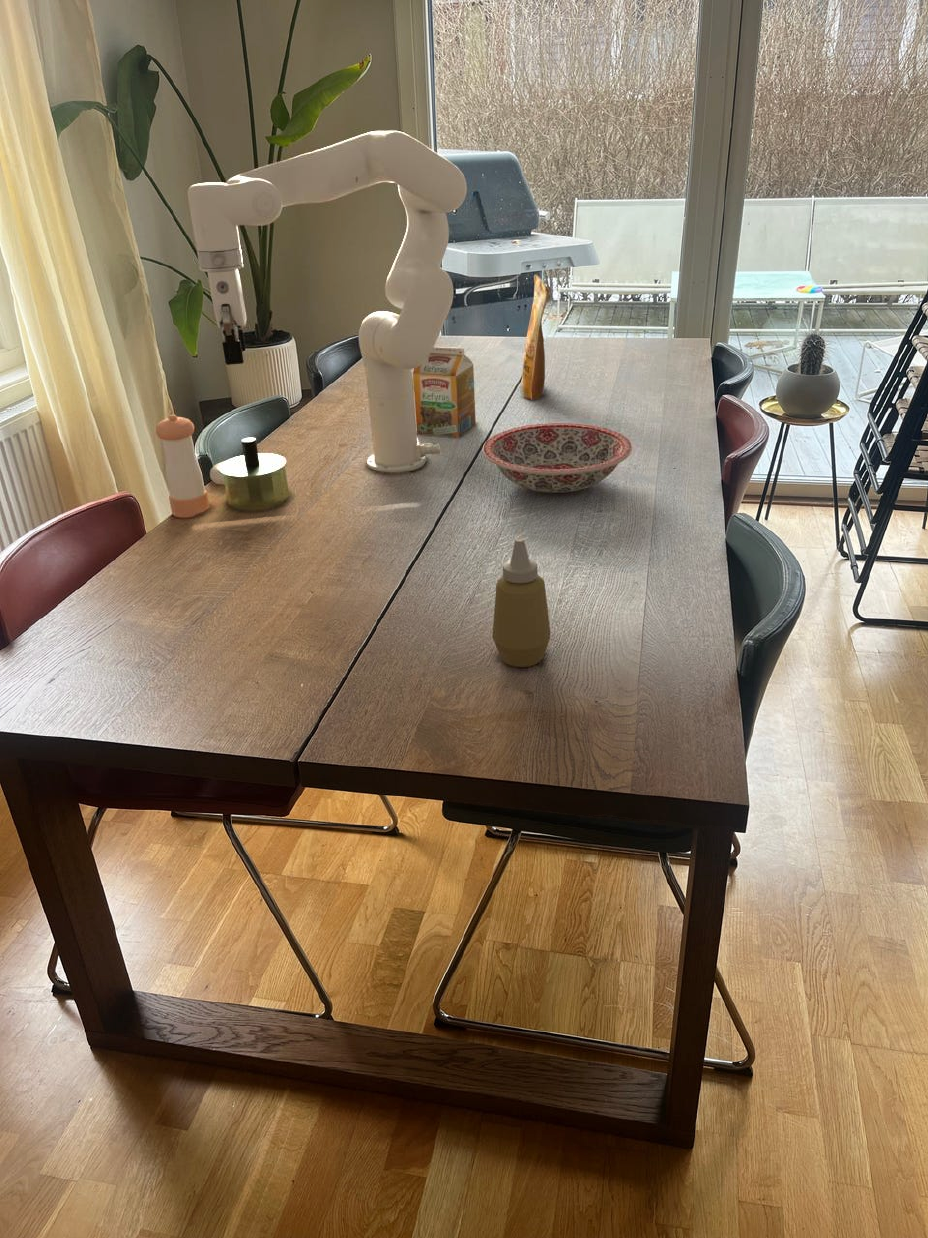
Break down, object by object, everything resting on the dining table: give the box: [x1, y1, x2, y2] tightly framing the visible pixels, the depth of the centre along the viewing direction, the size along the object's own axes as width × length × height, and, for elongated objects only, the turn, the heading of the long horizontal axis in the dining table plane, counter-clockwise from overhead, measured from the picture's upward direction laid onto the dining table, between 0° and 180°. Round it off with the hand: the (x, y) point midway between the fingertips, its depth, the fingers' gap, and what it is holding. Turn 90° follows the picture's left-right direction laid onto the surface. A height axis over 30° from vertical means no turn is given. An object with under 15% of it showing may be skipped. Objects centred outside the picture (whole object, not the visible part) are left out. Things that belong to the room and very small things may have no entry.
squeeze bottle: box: [491, 537, 551, 668], centre depth 129 cm, size 8×8×18 cm
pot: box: [223, 467, 290, 510], centre depth 188 cm, size 12×12×7 cm
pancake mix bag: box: [521, 273, 550, 401], centre depth 242 cm, size 7×19×28 cm, turn 178°
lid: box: [219, 437, 287, 479], centre depth 185 cm, size 13×13×6 cm
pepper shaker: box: [155, 414, 210, 519], centre depth 182 cm, size 7×7×19 cm
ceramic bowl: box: [482, 422, 633, 494], centre depth 188 cm, size 29×29×8 cm
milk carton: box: [412, 346, 477, 438], centre depth 220 cm, size 11×11×19 cm
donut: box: [209, 460, 226, 486], centre depth 200 cm, size 10×4×10 cm
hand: (236, 357), depth 176 cm, fingers open, 9 cm apart
